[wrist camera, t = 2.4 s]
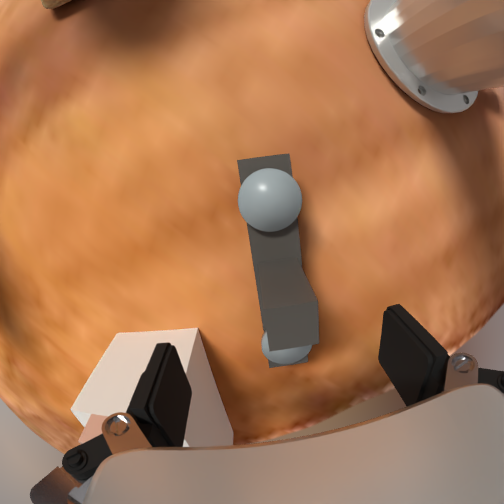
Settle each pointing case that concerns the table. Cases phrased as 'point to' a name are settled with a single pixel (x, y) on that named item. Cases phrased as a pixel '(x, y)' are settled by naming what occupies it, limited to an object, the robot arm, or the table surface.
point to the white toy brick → (129, 372)
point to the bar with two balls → (278, 259)
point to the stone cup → (53, 3)
